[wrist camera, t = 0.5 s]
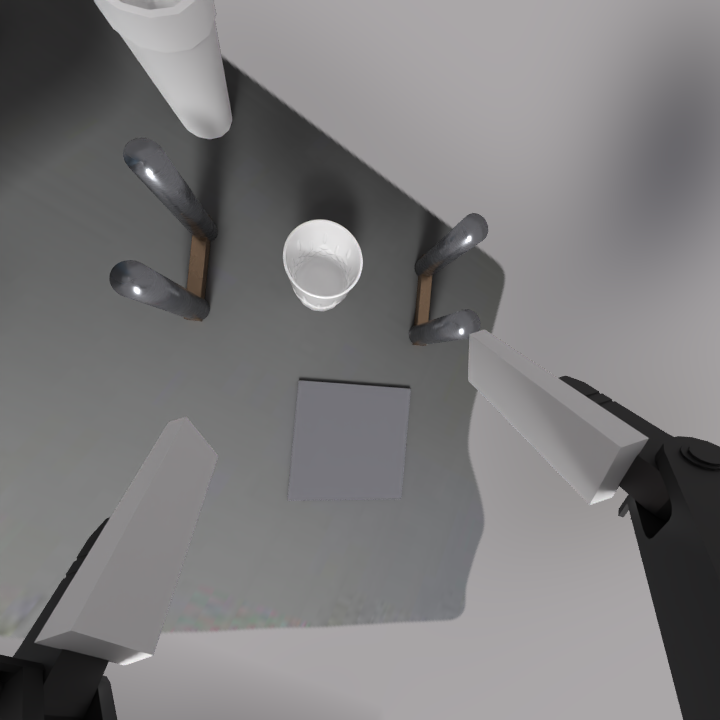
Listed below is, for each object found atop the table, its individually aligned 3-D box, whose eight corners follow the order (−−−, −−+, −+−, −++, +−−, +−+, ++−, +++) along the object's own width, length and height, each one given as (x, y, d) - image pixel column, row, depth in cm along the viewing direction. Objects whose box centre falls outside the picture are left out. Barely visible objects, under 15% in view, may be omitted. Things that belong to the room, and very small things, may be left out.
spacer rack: (182, 319, 32) (107, 295, 20) (192, 216, 32) (125, 133, 20) (426, 346, 38) (479, 339, 26) (434, 260, 39) (489, 216, 27)
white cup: (318, 246, 35) (322, 202, 25) (359, 288, 36) (378, 261, 26) (277, 286, 34) (265, 256, 24) (321, 327, 35) (325, 314, 25)
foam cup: (183, 159, 32) (99, 25, 19) (150, 85, 31) (40, -105, 19) (257, 141, 34) (224, 7, 21) (227, 70, 33) (175, -113, 20)
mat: (287, 498, 34) (287, 500, 34) (298, 380, 35) (298, 380, 34) (400, 497, 37) (401, 499, 37) (409, 388, 38) (410, 388, 37)
